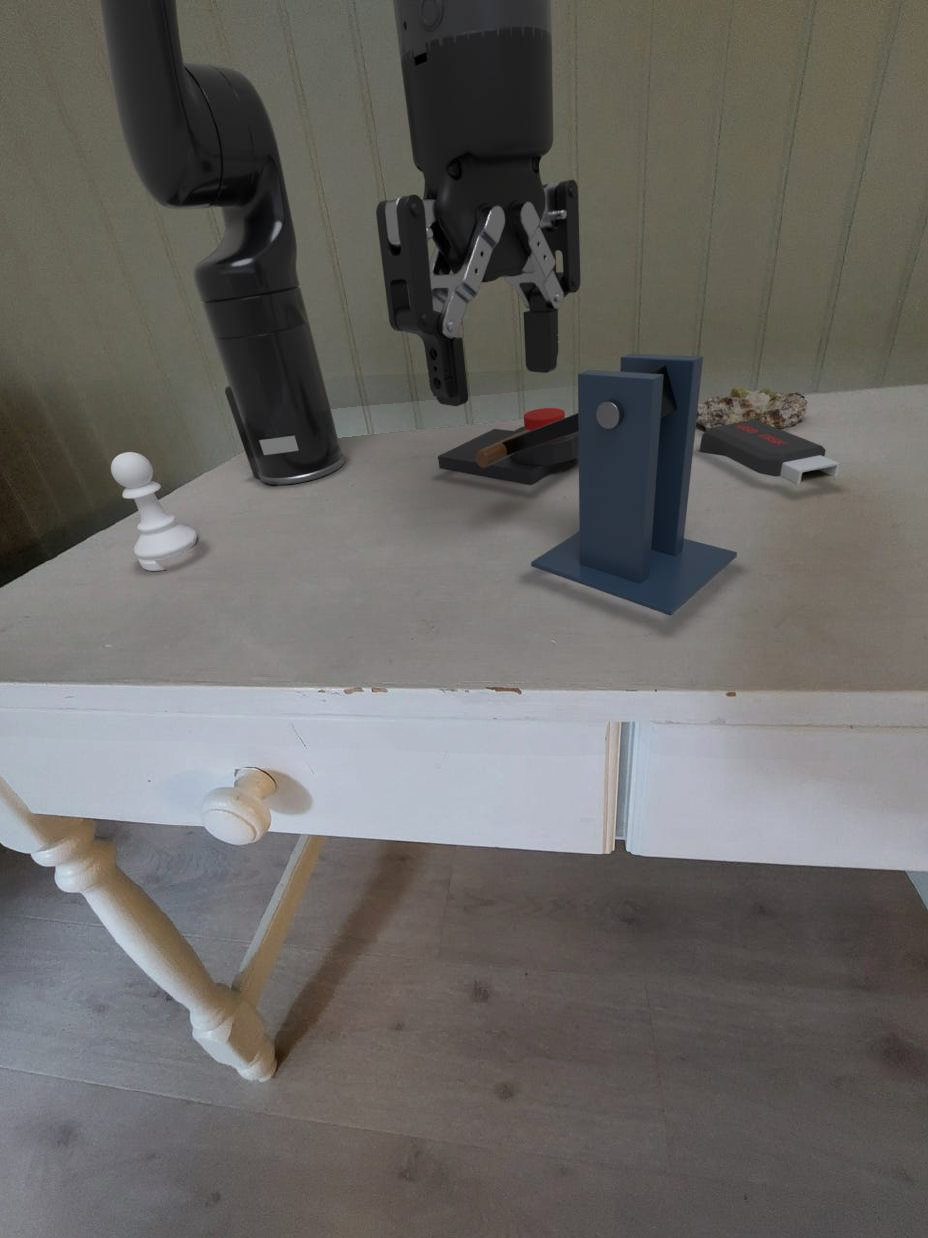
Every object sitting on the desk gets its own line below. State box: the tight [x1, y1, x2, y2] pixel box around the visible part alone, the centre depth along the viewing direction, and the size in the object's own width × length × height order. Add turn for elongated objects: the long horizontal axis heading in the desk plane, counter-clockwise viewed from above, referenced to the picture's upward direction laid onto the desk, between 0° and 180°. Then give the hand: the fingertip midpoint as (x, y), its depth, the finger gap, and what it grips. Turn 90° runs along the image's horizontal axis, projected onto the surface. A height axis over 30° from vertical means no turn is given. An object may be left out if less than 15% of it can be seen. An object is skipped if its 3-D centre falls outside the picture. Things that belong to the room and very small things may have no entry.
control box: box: [437, 426, 579, 486], centre depth 54 cm, size 13×9×4 cm
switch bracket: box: [530, 353, 738, 616], centre depth 33 cm, size 10×8×13 cm
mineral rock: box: [696, 385, 808, 432], centre depth 57 cm, size 11×4×8 cm
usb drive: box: [699, 420, 841, 485], centre depth 48 cm, size 5×12×3 cm, turn 11°
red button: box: [523, 407, 566, 431], centre depth 50 cm, size 4×4×2 cm
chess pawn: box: [110, 451, 198, 572], centre depth 46 cm, size 5×5×9 cm
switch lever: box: [475, 365, 677, 468], centre depth 35 cm, size 13×5×2 cm, turn 45°
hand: (499, 386), depth 37 cm, fingers open, 8 cm apart
